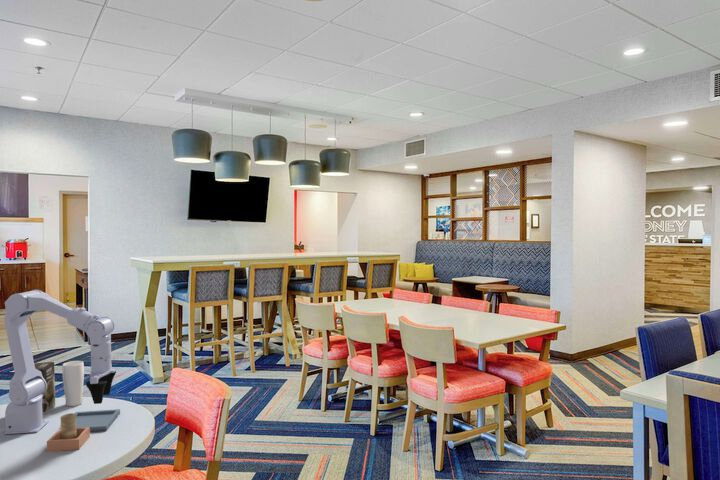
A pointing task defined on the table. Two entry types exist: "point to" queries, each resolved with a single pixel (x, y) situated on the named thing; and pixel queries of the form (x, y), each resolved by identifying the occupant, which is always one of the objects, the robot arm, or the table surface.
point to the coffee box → (49, 377)
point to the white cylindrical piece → (73, 382)
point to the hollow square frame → (68, 440)
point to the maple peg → (68, 426)
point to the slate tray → (96, 419)
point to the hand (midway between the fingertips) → (102, 398)
